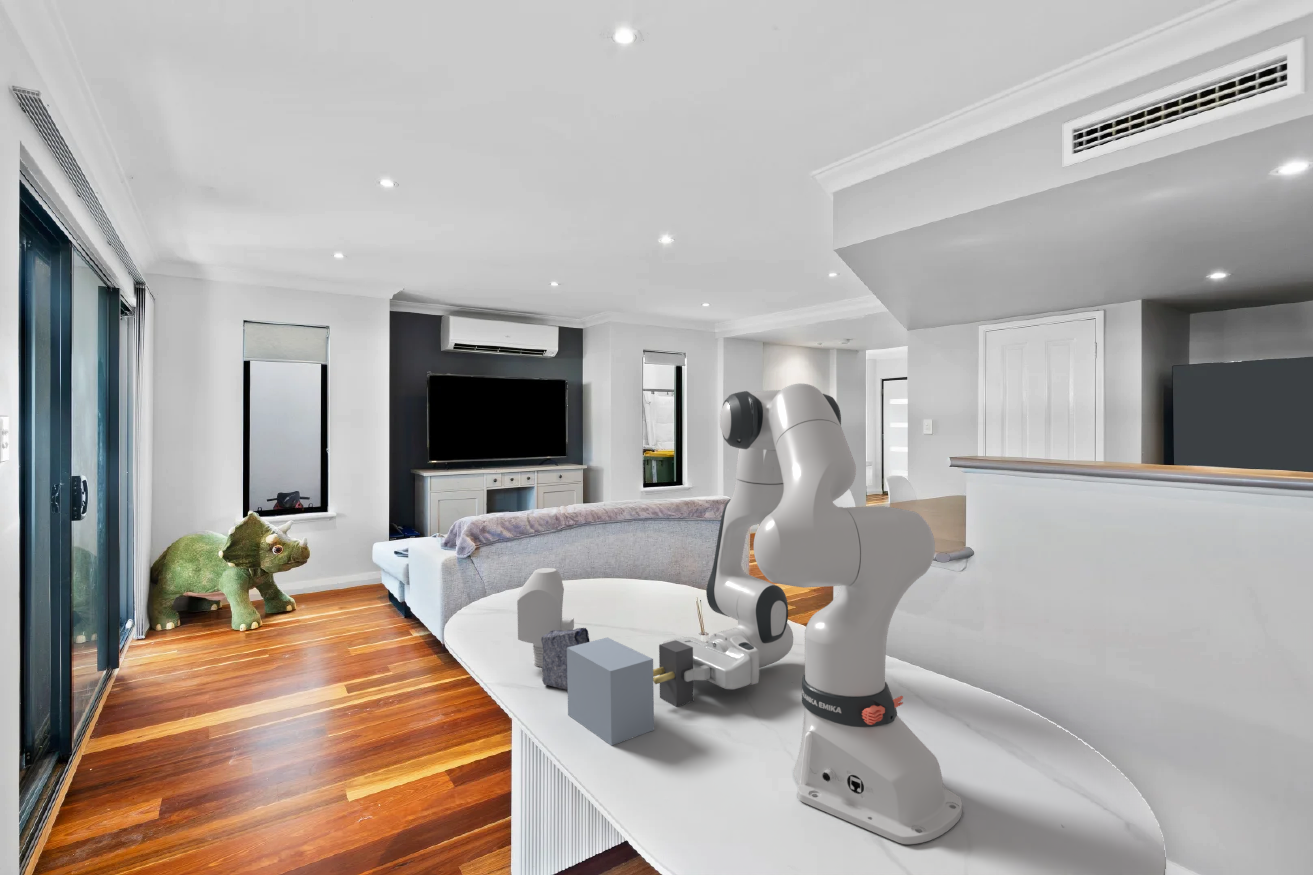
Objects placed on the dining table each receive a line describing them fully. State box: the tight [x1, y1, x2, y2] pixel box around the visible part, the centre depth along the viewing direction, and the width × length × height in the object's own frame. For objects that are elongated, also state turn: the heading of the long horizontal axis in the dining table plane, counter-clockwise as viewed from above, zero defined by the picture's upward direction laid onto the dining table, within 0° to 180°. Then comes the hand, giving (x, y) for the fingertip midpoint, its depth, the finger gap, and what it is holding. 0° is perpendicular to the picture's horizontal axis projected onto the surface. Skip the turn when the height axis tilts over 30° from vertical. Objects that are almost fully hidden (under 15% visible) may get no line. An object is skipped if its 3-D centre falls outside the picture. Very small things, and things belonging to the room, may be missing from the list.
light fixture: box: [516, 567, 575, 668], centre depth 140 cm, size 9×9×20 cm
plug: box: [653, 640, 694, 708], centre depth 119 cm, size 5×8×10 cm, turn 127°
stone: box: [541, 627, 591, 691], centre depth 130 cm, size 12×10×10 cm
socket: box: [567, 637, 655, 746], centre depth 112 cm, size 14×9×12 cm, turn 37°
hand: (672, 670), depth 120 cm, fingers closed on plug, 5 cm apart
